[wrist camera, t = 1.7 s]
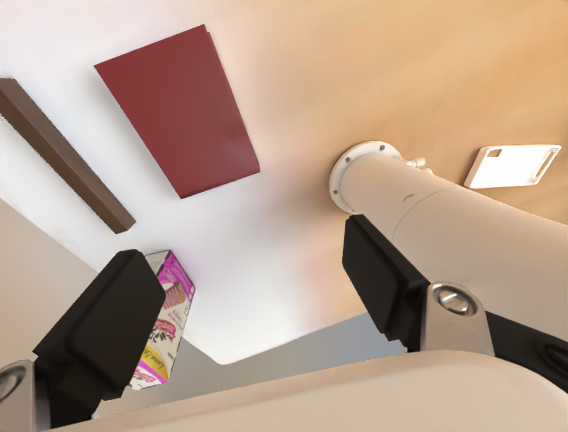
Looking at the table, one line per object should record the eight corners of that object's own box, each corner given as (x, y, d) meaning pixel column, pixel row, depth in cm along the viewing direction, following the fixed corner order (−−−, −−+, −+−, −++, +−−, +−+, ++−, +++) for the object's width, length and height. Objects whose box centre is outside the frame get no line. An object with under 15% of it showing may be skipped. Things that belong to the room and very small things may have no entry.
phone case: (461, 186, 38) (528, 182, 40) (468, 189, 37) (536, 184, 39) (481, 146, 34) (553, 143, 36) (489, 147, 33) (563, 145, 35)
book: (209, 32, 22) (203, 23, 20) (259, 165, 31) (260, 172, 28) (110, 69, 23) (93, 65, 20) (186, 191, 31) (181, 199, 28)
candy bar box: (197, 287, 42) (170, 383, 28) (174, 293, 42) (134, 392, 28) (171, 247, 36) (120, 343, 22) (144, 254, 36) (75, 354, 22)
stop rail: (14, 78, 22) (-11, 76, 20) (136, 221, 32) (128, 230, 30) (-2, 85, 22) (-29, 83, 20) (124, 225, 32) (115, 234, 30)
